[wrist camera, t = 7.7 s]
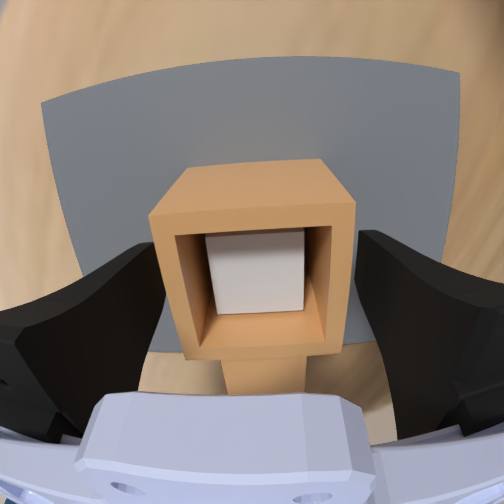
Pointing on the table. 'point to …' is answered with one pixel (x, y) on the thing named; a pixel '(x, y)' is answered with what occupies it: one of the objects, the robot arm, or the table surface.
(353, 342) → the duct board
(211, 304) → the tan square tube
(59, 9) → the table surface
